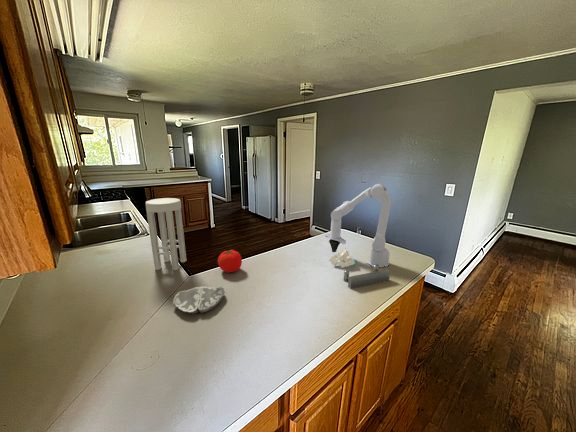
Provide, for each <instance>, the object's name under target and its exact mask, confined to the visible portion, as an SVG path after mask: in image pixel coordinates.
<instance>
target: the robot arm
mask: <svg viewBox="0 0 576 432" xmlns="http://www.w3.org/2000/svg"><path fill="white" fill-rule="evenodd" d="M371 198H374V199H376V200H378V202H379V203H380V204H381V207H380V212H379V218H378V221H377V222H378V223H377V228H376V233H375V236H374V237H373V241H372V243H371V247H370V248H371V249H370V257H369V258H370V259H369V260H366V264H368V265H370V266H372V267H373V268H374V265H375V264H376V265H379V267H380V268H384V266H385V267H389V266H390V264H389V261H390V251H389V249H388V248H387V247H386V232H387V228H388V227H387V226H388V221H389V218H390V217H389V216H390V213H391V212H390V211H391V206H392V198H391V197H390V194H389V192H388V190H387V188H386V187H385V186H384V185H383V184H381V183H375V184H374V185H373V186H370V187H368V188H366V189H365V190H364V191H362V192H361V193H359V194H358V195H357V196H356V197H354V198H353V199H352V200H346V201H343V202H342V204H341V205H340V206H337V207H336V208H335V209H333V211H331V212H330V218H331V221H330V233H328V232H326V233H325V234H324V237H325V238H328V239H329V240H328V243H329V244H330V247H331V252H332V253H336V252H337V250H338V247H339V246H340V244H342V245H346V244H347V240H346V239H344V238H342V236H341V234H342V233H341V231H342V218H343V216H346V215H348V214H349V213H350V212H351V211H353V210H354V208H355V206H356V205H357V204H359V203H360V202H362V201H364V200H365V199H371ZM388 265H389V266H388Z"/></svg>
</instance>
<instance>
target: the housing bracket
mask: <svg viewBox="0 0 576 432" xmlns="http://www.w3.org/2000/svg"><path fill="white" fill-rule="evenodd" d="M390 277H391V270H389V269H382V270H379V265H376V264H375V265H374V267H373V269H372V272H367V273H362V274H357V275H352V276H350V269H344V271H343V281H344V282H346V283H348V284H347V285H348V286H347V287H348V288H349V289H351V290H352V289H357V288H361V287H366V286H370V285H375V284H378V283H379V282H380V283H384V281H385V282H389V281H390ZM388 280H389V281H388ZM380 283H379V284H380Z"/></svg>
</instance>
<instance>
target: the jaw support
mask: <svg viewBox="0 0 576 432" xmlns="http://www.w3.org/2000/svg"><path fill="white" fill-rule="evenodd" d="M328 261H330V263H331V264H332V265H333V267H335V268H336V266H337V265H339V267H341V268H342V269H344V268H346V267H350V266H353V265H355V264H356V263H357V262H356V261H355V260H354V259H353V256H352V255H351V254H350V252H349V250H348V249H346V248H344V249H342V250H340V251H339V252H337V253H336V254H335V255H333V256H331V258H329V259H328Z"/></svg>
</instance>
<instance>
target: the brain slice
mask: <svg viewBox="0 0 576 432" xmlns="http://www.w3.org/2000/svg"><path fill="white" fill-rule="evenodd" d="M225 293H226V292H225V289H224V287H222V286H216V287H210V286H195V287H192V288H189V289H187V290H186V289H184V290H180V291H178V292H177V293H176V294H175V295H174V298H173V299H172V304H173V305H174V306H175V308H178V310H180V311H181V312H183V313H188V314H198V313H201V314H203V313H206V312H208V311H211V310H212V309H213V308H214V307H216V306H217V305H218V304H219V303H220V302H221V300H222V299H223V298H224V294H225Z"/></svg>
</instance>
